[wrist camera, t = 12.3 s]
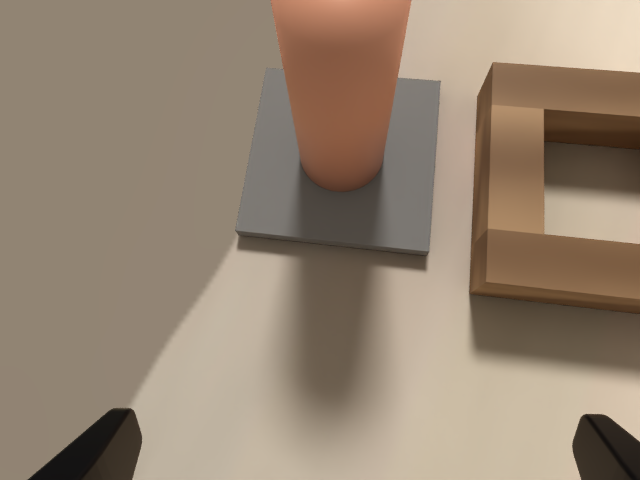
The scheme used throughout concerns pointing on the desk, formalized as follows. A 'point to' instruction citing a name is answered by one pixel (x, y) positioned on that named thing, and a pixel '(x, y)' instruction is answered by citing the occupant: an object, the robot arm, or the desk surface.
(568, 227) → the desk surface
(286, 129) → the rubber mat
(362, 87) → the terracotta peg
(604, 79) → the walnut pocket block
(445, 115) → the desk surface
